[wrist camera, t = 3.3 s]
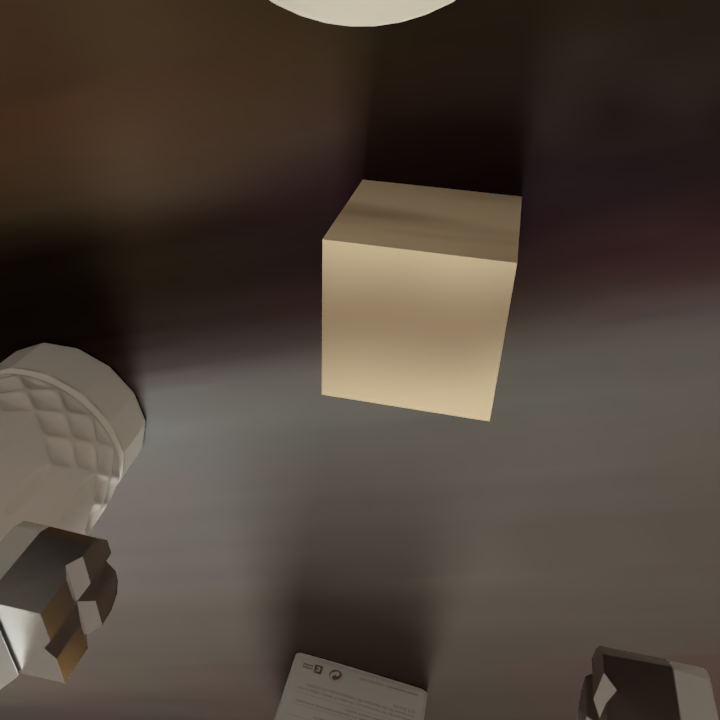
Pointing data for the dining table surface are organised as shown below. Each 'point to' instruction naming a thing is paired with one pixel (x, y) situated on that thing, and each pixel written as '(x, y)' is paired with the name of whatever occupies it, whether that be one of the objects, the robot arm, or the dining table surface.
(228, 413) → the dining table surface
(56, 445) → the white cup
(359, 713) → the supplement box
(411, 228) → the beech block
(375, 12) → the white rounded lump
